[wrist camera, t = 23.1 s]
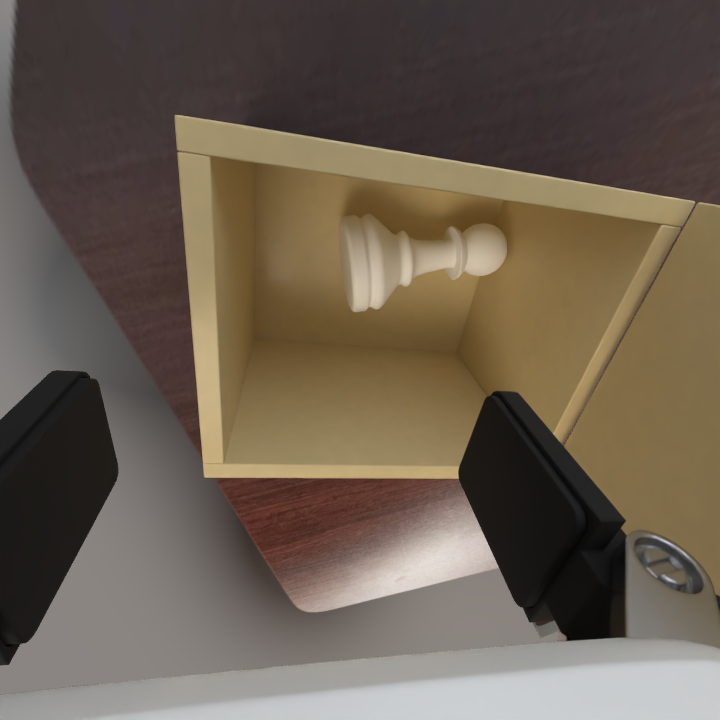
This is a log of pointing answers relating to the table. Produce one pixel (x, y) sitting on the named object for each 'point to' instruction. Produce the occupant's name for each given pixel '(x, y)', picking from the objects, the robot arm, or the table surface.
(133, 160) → the table surface
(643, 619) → the robot arm
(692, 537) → the lid
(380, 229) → the chess pawn
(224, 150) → the light wooden open box
